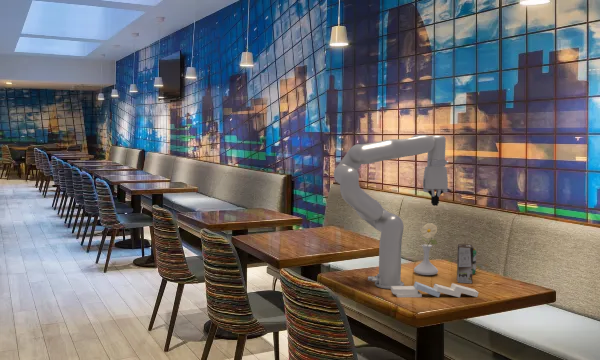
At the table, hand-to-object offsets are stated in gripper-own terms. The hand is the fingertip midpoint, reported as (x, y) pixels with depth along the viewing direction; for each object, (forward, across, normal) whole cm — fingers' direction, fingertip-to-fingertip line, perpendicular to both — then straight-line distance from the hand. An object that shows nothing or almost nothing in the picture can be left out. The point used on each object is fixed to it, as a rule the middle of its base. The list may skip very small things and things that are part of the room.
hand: (434, 205), depth 260 cm
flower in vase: (+35, -2, -17) cm, 39 cm away
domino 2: (+35, +10, +19) cm, 41 cm away
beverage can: (+35, -22, -19) cm, 46 cm away
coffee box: (+35, -16, -5) cm, 39 cm away
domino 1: (+33, +12, +18) cm, 40 cm away
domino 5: (+34, -13, +19) cm, 41 cm away
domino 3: (+34, +3, +19) cm, 39 cm away
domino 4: (+34, -5, +19) cm, 40 cm away
